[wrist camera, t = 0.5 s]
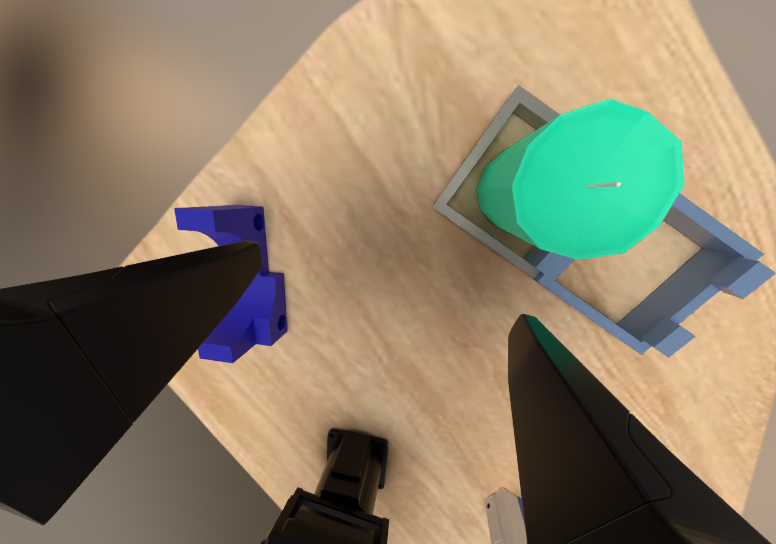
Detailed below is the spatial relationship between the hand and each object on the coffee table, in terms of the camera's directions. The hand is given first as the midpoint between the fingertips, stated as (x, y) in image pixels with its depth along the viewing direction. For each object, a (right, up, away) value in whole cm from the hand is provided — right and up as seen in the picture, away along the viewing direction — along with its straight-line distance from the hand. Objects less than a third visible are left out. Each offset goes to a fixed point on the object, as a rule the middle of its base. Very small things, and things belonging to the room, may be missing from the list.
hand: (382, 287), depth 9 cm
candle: (+10, +7, +12) cm, 17 cm away
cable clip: (-12, +1, +17) cm, 21 cm away
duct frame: (+14, +4, +11) cm, 18 cm away
